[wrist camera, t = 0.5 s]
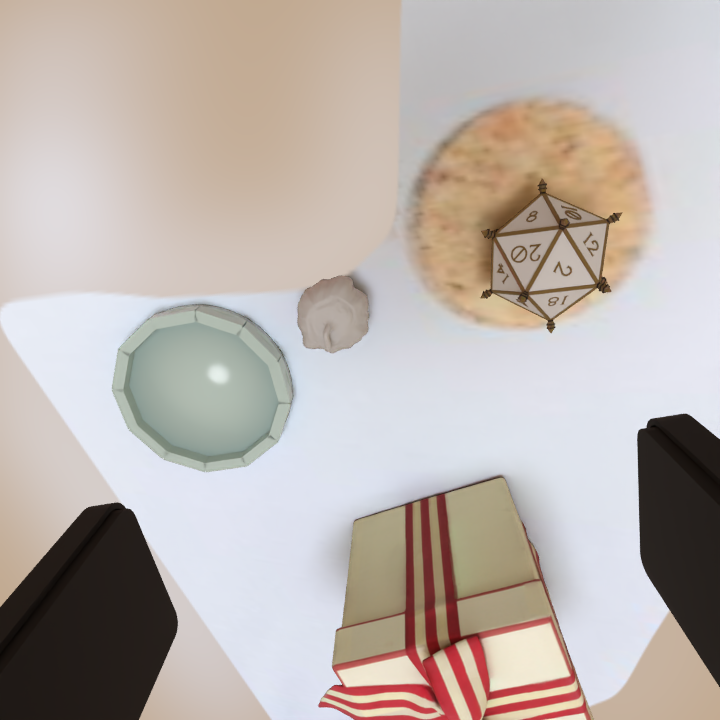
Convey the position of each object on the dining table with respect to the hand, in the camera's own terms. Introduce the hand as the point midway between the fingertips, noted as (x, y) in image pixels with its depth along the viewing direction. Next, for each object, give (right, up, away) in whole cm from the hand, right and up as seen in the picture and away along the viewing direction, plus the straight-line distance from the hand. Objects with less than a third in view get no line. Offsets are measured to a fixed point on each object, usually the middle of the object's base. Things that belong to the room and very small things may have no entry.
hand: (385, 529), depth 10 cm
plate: (-13, +1, +34) cm, 36 cm away
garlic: (-2, +7, +31) cm, 32 cm away
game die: (+12, +11, +28) cm, 33 cm away
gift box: (+7, -16, +40) cm, 44 cm away
